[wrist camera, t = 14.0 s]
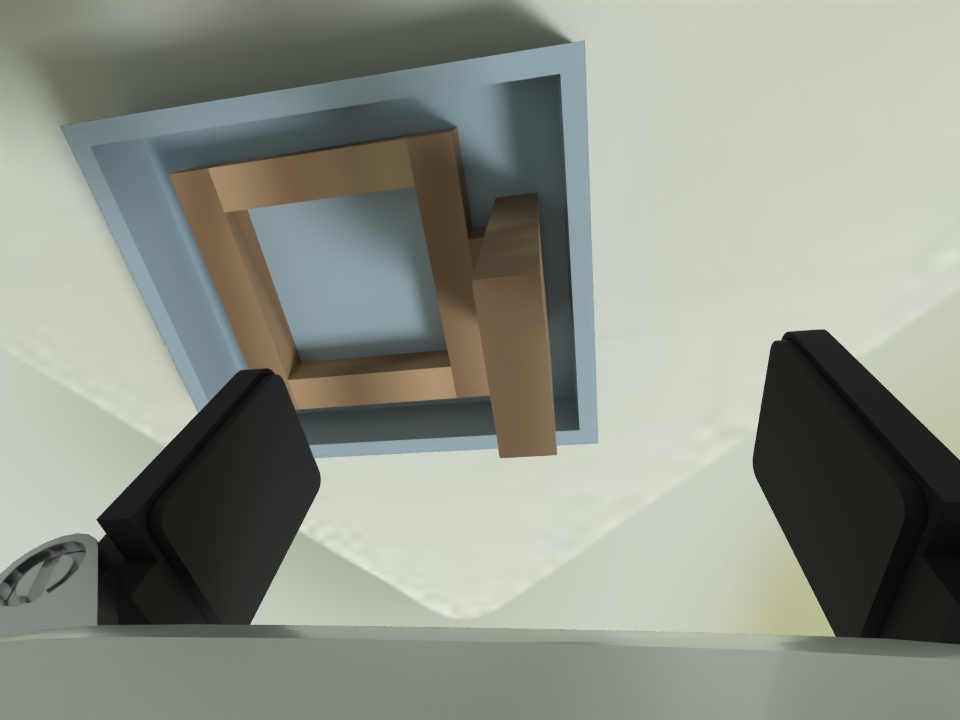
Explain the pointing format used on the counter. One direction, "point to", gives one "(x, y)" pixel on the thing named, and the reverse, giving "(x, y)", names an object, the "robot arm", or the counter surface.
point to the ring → (455, 267)
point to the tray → (363, 232)
